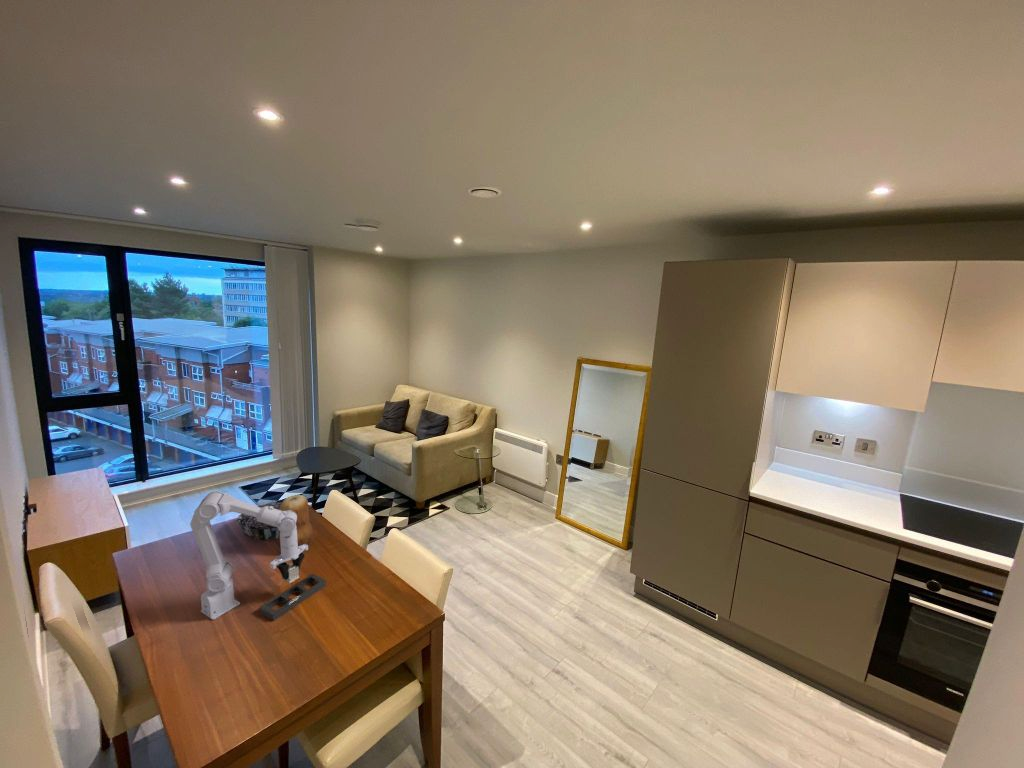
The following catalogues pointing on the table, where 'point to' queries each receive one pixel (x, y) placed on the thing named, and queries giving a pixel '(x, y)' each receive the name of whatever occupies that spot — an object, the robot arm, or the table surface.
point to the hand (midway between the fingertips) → (290, 575)
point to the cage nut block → (292, 573)
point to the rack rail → (289, 603)
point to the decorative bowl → (259, 526)
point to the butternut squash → (299, 517)
